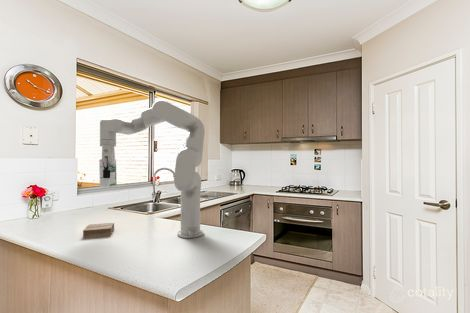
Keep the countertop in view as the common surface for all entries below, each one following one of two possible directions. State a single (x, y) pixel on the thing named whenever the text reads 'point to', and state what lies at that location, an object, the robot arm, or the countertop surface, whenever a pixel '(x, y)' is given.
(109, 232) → the walnut block
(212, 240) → the countertop surface
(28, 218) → the countertop surface
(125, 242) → the countertop surface
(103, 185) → the syrup box
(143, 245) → the countertop surface
